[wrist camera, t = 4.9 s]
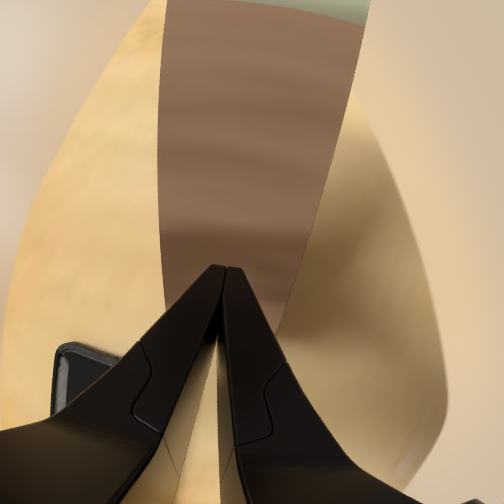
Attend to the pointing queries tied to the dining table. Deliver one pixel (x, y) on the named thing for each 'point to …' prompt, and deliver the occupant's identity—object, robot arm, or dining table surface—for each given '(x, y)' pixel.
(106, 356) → the phone
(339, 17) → the walnut block
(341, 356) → the dining table surface
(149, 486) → the robot arm
